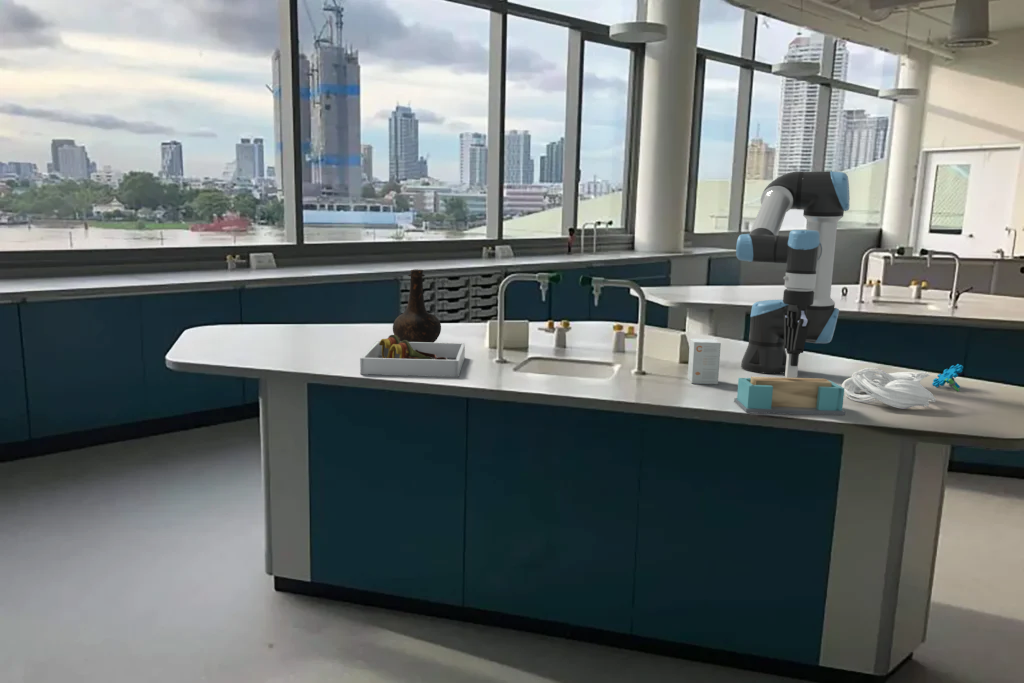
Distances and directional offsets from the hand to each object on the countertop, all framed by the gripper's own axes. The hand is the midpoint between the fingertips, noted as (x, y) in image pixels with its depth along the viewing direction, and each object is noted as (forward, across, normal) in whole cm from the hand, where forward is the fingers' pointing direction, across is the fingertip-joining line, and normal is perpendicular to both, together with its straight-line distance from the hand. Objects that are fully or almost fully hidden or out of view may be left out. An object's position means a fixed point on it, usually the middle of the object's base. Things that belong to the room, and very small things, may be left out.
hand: (790, 377), depth 202 cm
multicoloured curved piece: (+9, -42, -105) cm, 113 cm away
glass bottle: (+9, -77, -110) cm, 135 cm away
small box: (+9, -29, -16) cm, 34 cm away
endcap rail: (+9, 0, 0) cm, 9 cm away
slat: (+8, 0, 0) cm, 8 cm away
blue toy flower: (+9, -29, +59) cm, 67 cm away
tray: (+9, -42, -106) cm, 114 cm away
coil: (+9, -10, +32) cm, 35 cm away
